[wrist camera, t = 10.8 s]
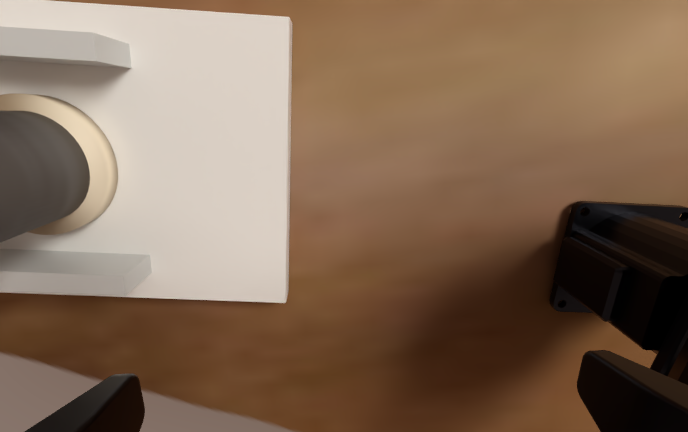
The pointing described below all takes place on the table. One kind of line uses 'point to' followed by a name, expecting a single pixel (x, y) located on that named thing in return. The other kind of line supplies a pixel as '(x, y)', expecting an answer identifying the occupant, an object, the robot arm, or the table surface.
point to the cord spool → (51, 167)
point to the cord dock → (163, 149)
